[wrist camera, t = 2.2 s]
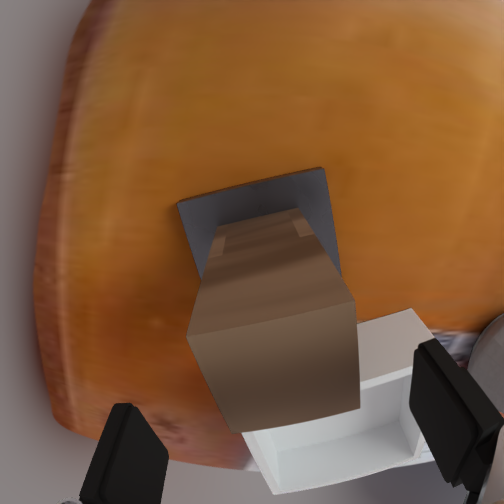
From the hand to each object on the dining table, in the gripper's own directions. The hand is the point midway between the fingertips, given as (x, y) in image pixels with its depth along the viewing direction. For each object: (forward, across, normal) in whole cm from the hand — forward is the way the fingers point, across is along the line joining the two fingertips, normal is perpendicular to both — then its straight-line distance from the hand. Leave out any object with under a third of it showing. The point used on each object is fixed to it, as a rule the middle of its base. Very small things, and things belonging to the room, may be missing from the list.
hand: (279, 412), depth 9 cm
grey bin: (+13, -4, +14) cm, 20 cm away
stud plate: (+13, 0, -1) cm, 13 cm away
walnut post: (+12, 0, -1) cm, 12 cm away
